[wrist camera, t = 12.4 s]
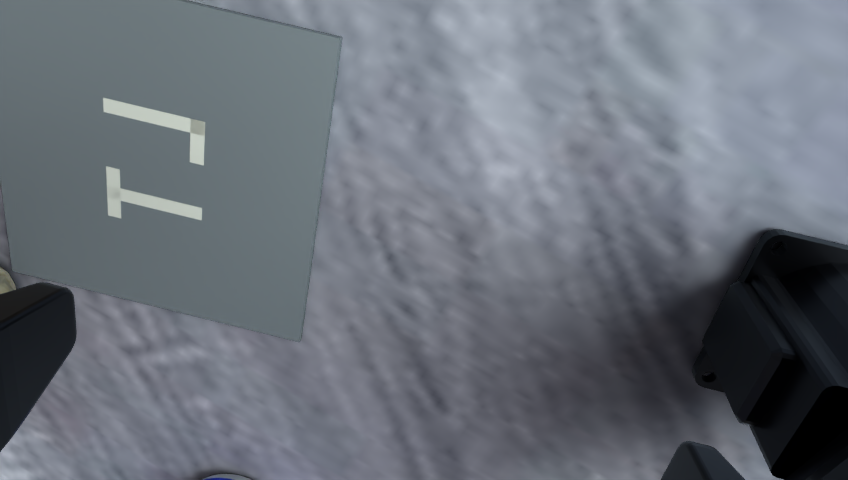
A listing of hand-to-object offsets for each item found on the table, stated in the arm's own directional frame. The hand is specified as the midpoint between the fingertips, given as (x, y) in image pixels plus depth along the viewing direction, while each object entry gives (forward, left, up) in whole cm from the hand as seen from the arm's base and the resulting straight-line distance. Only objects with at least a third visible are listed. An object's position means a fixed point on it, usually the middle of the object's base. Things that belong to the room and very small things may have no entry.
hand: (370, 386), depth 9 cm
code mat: (+10, +4, -13) cm, 17 cm away
